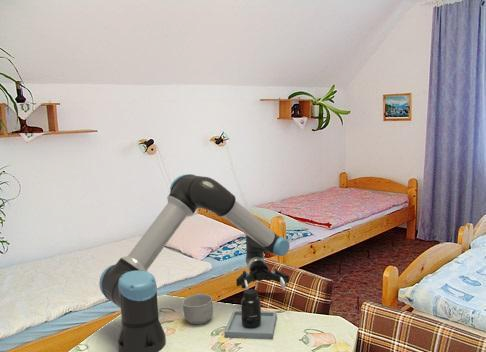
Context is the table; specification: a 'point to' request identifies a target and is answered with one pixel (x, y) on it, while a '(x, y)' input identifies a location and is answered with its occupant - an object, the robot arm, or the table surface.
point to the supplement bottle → (251, 309)
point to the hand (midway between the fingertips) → (265, 288)
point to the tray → (261, 332)
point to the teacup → (198, 308)
